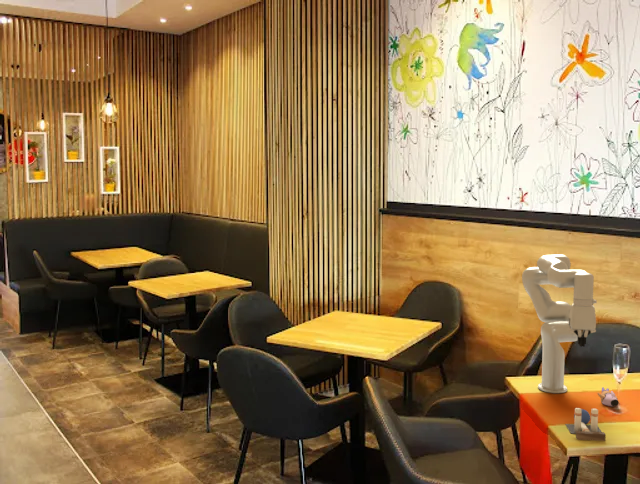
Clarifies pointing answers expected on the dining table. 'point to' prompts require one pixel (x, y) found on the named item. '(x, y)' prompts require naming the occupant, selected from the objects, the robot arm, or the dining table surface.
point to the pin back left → (594, 420)
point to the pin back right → (577, 419)
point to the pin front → (584, 427)
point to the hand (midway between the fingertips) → (581, 345)
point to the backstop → (590, 435)
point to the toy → (608, 397)
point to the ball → (584, 417)
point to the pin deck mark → (571, 429)
